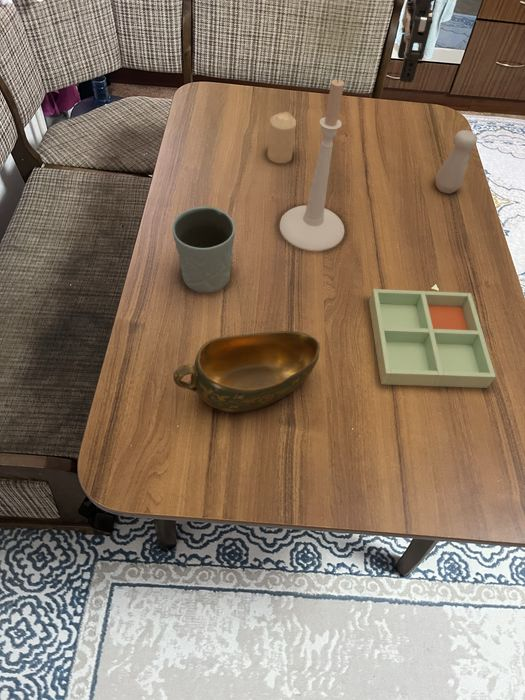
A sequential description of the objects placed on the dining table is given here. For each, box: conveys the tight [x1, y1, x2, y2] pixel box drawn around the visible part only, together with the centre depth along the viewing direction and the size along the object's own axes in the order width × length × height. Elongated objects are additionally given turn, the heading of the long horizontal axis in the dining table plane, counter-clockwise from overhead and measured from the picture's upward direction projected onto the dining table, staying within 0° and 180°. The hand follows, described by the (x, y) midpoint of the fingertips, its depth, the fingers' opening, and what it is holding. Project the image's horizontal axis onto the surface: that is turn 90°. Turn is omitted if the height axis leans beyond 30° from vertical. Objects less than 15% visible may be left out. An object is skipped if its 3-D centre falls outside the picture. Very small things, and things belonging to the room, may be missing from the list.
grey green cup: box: [171, 205, 236, 294], centre depth 91 cm, size 10×10×12 cm
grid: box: [368, 288, 497, 389], centre depth 89 cm, size 17×17×4 cm
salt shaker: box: [434, 129, 478, 195], centre depth 110 cm, size 6×6×13 cm
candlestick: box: [279, 78, 345, 252], centre depth 93 cm, size 13×13×30 cm
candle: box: [267, 111, 297, 164], centre depth 114 cm, size 6×6×10 cm
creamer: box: [173, 330, 321, 414], centre depth 79 cm, size 13×20×10 cm, turn 82°
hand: (404, 69), depth 91 cm, fingers open, 8 cm apart
